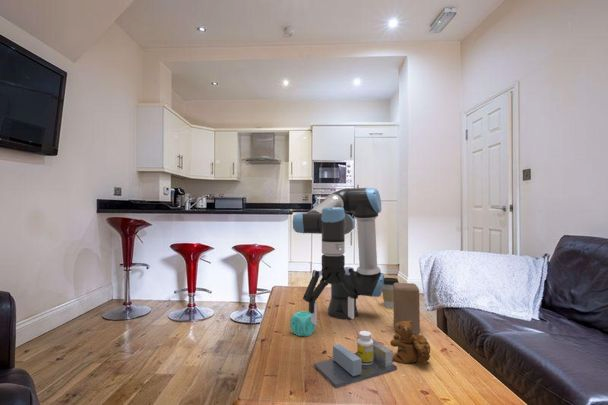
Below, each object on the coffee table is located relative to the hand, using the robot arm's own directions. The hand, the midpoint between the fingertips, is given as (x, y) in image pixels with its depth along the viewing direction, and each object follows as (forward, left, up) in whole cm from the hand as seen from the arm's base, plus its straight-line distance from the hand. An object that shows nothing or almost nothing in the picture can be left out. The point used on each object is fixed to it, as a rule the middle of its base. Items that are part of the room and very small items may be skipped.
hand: (332, 320), depth 98 cm
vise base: (0, +9, -17) cm, 20 cm away
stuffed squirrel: (+4, +30, -18) cm, 35 cm away
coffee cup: (-45, +65, -18) cm, 81 cm away
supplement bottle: (-1, +13, -17) cm, 21 cm away
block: (-16, +48, -18) cm, 54 cm away
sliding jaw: (0, +6, -16) cm, 17 cm away
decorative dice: (-34, +6, -18) cm, 39 cm away
